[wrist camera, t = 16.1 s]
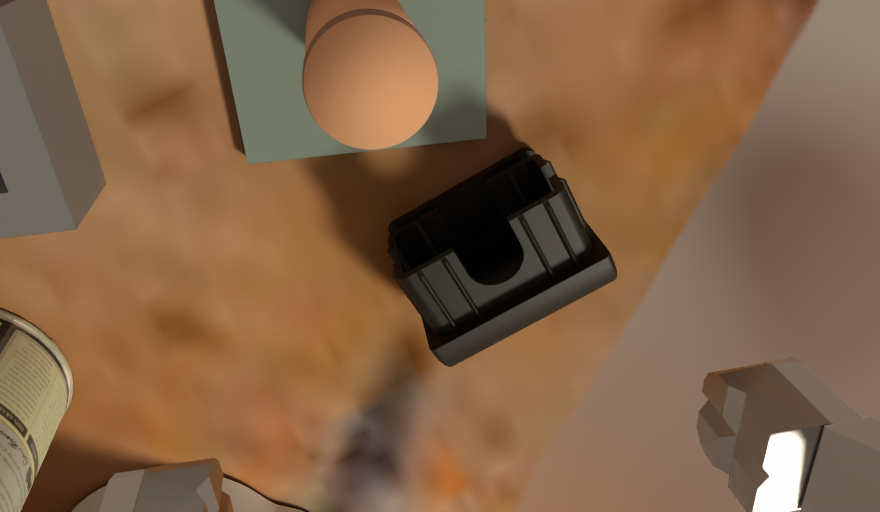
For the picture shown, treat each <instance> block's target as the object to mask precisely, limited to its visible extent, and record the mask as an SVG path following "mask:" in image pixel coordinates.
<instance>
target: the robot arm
mask: <svg viewBox="0 0 880 512" xmlns="http://www.w3.org/2000/svg"><path fill="white" fill-rule="evenodd" d="M702 392H703V393H704V395H705V396H706V397H707V398H708V401H707V402H706V404H705V405H704V406H703V407H702V408H701V409H700V411H699V413H698V422H697V430H698V435H699V439H700V443H701V446H702V448H703V450H704V453H705V455H706V456H707V458H708V459H709V460H710V462H711V463H712V465H713V466H714V467H716V468H718V469H720V470H722V471H724V472H726V473H727V474H729V482H728V487H729V488H730V490H731V491H732V492H733V494H734V495H735V497H736V498H737V499H738V501H739V502H740V503H741V505H742V506H743V508H744V509H745V510H746V512H788V511H794V510H800V509H801V510H800V512H880V421H879V420H877V419H874V418H872V417H870V418H864V419H862V418H861V417H860V416H859V415H858V414H857V413H856V412H855V411H854V410H853V409H852V408H851V407H849V406H848V405H847V404H846V403H845V402H844V401H843V400H842V399H841V398H840V397H839V396H838V395H836V394H835V393H834V392H833V391H832V390H831V389H830V388H829V387H828V386H827V385H826V384H825V383H824V382H822V381H821V380H820V379H819V378H818V377H817V376H816V375H815V374H814V373H813V372H812V371H811V370H810V369H808V368H807V367H806V366H805V365H804V364H803V363H802V362H801V361H799V360H797V359H795V358H792V357H791V358H785V359H779V360H774V361H769V362H764V363H763V364H754V365H749V366H743V367H738V368H732V369H727V370H721V371H716V372H710V373H708V375H707V376H706V378H705V379H704V383H703V389H702ZM71 512H304V511H302V510H298V509H294V508H290V507H286V506H281V505H277V504H275V503H272V502H270V501H269V500H267V499H265V498H264V497H262V496H261V495H259V494H258V493H256V492H255V491H253V490H251V489H250V488H248V487H246V486H244V485H242V484H240V483H237V482H235V481H232V480H229V479H226V478H223V473H222V470H221V467H220V464H219V461H218V460H217V459H215V458H210V459H204V460H197V461H190V462H183V463H177V464H170V465H163V466H156V467H150V468H149V469H142V470H134V471H127V472H120V473H115V474H114V475H113V476H112V477H111V479H110V480H109V481H108V483H107V485H106V486H104V487H102V488H100V489H99V490H97V491H95V492H93V493H92V494H90V495H89V496H87V497H86V498H85V499H84V500H82V501H81V502H80V503H79V504H78V505H77V506H76V507H75V508H74V509H73V510H72V511H71Z"/></svg>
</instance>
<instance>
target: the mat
mask: <svg viewBox="0 0 880 512" xmlns="http://www.w3.org/2000/svg"><path fill="white" fill-rule="evenodd" d="M398 1H399V3H400V5H401V6H402V8H403V9H404V11H405V12H406V14H407V16H408V17H409V19H410V20H411V22H412V23H413V25H414V27H415V28H416V29H417V31H418V32H419V33H420V34H421V35H422V37H423V38H424V39H425V41H426V43H427V44H428V46H429V48H430V49H431V51H432V53H433V56H434V58H435V61H436V65H437V69H438V77H439V87H438V94H437V98H436V102H435V105H434V107H433V110H432V112H431V114H430V116H429V118H428V119H427V121H426V122H425V123H424V125H423V126H422V127H421V128H420V129H419V130H418V131H417V132H416V133H415V134H414V135H412V136H411V137H410V138H408V139H407V140H405V141H403V142H402V143H399V144H397V145H395V146H391V147H388V148H383V149H392V148H402V147H411V146H420V145H429V144H439V143H448V142H457V141H466V140H476V139H485V138H487V128H486V61H485V0H398ZM310 2H311V0H214V4H215V9H216V14H217V18H218V23H219V28H220V33H221V38H222V43H223V47H224V52H225V57H226V62H227V67H228V71H229V76H230V81H231V86H232V91H233V95H234V100H235V105H236V110H237V115H238V119H239V124H240V129H241V134H242V139H243V143H244V148H245V153H246V158H247V163H248V164H254V163H263V162H272V161H282V160H291V159H300V158H309V157H319V156H328V155H337V154H346V153H356V152H365V151H374V150H383V149H374V150H368V149H359V148H354V147H351V146H348V145H345V144H343V143H341V142H339V141H337V140H336V139H334V138H333V137H331V136H330V135H329V134H327V133H326V132H325V131H324V130H323V129H322V128H321V127H320V126H319V125H318V124H317V122H316V121H315V120H314V118H313V117H312V115H311V113H310V111H309V109H308V107H307V105H306V102H305V99H304V94H303V88H302V71H303V63H304V57H305V42H306V22H307V12H308V8H309V5H310Z"/></svg>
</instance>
